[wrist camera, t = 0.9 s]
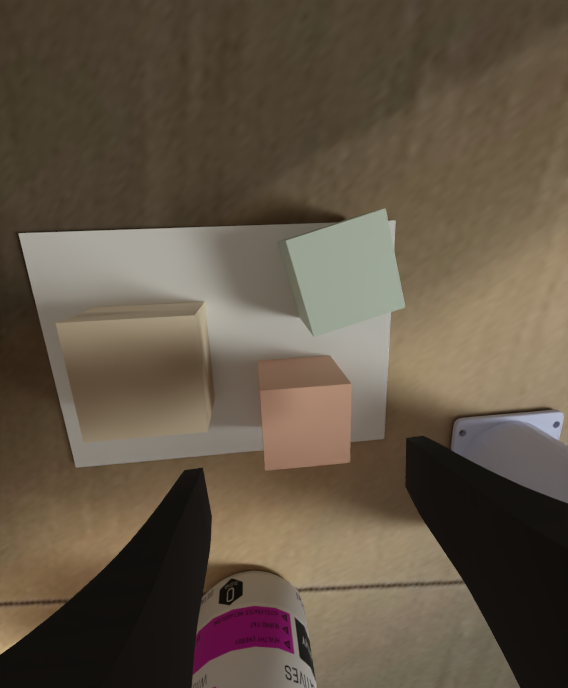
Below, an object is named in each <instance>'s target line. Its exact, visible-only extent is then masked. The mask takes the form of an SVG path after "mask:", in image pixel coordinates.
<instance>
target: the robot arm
mask: <svg viewBox="0 0 568 688" xmlns="http://www.w3.org/2000/svg"><path fill="white" fill-rule="evenodd" d="M563 419H564V415H563V413H562V412H560V411H558V410H545V411H533V412H522V413H511V414H500V415H489V416H477V417H466V418H459V419H457V420H456V421H455V422H454V426H453V434H452V443H451V450H450V449H448V448H446V447H444V446H442V445H440V444H439V443H437V442H435V441H433V440H431V439H429V438H427V437H424V436H418V437H411V438H406V488H407V490H408V492H409V494H410V496H411V499H412V501H413V503H414V504H415V506H416V508H417V510H418V512H419V514H420V515H421V517H422V519H423V520H424V522H425V523H426V525H427V526H428V528H429V529H430V531H431V532H432V534H433V535H434V537H435V538H436V540H437V541H438V543H439V544H440V546H441V547H442V549H443V550H444V552H445V553H446V555H447V556H448V558H449V559H450V561H451V562H452V564H453V565H454V567H455V568H456V570H457V571H458V573H459V574H460V576H461V578H462V579H463V581H464V582H465V584H466V586H467V587H468V589H469V591H470V592H471V594H472V596H473V598H474V600H475V602H476V603H477V605H478V607H479V609H480V611H481V612H482V614H483V616H484V618H485V620H486V622H487V623H488V625H489V627H490V629H491V631H492V633H493V635H494V637H495V639H496V641H497V643H498V645H499V646H500V648H501V650H502V652H503V654H504V656H505V658H506V660H507V662H508V664H509V666H510V668H511V670H512V672H513V674H514V676H515V678H516V680H517V682H518V684H519V686H520V688H568V446H567V445H565V444H564V443H562V442H561V441H559V437H560V432H561V428H562V423H563ZM461 430H463V431H462V432H461V433H460V434H459V432H460V431H461ZM211 523H212V515H211V510H210V504H209V499H208V494H207V488H206V483H205V477H204V472H203V468H197V469H190V470H184V472H183V473H182V474H181V475H180V477H179V478H178V480H177V481H176V482H175V484H174V485H173V487H172V488H171V490H170V491H169V492H168V494H167V495H166V496H165V498H164V499H163V501H162V502H161V503H160V505H159V506H158V507H157V509H156V510H155V511H154V512H153V514H152V515H151V516H150V518H149V519H148V520H147V521H146V523H145V524H144V525H143V526H142V527H141V529H140V530H139V531H138V532H137V533H136V535H135V536H134V537H133V538H132V539H131V541H130V542H129V543H128V544H127V545H126V546H125V547H124V548H123V550H122V551H121V552H120V553H119V554H118V555H117V556H116V557H115V558H114V559H113V560H112V561H111V562H110V563H109V564H108V565H107V566H106V567H105V568H104V569H103V570H102V571H101V572H100V573H99V574H98V575H97V576H96V577H95V578H94V579H93V580H91V581H90V582H89V583H88V584H87V585H86V586H85V587H84V588H83V589H82V590H80V591H79V592H78V593H77V594H76V595H75V596H74V597H73V598H72V599H71V600H69V601H68V602H67V603H66V604H65V605H64V606H62V607H61V608H60V609H59V610H58V611H56V612H55V613H54V614H53V615H52V616H50V617H49V618H48V619H47V620H45V621H44V622H43V623H42V624H40V625H39V626H38V627H37V628H35V629H34V630H33V631H32V632H30V633H29V634H28V635H26V636H25V637H24V638H22V639H21V640H20V641H19V642H17V643H16V644H15V645H13V646H12V647H10V648H9V649H8V650H6V651H5V652H3V653H2V654H1V655H0V688H192V677H193V665H194V652H195V640H196V633H197V625H198V618H199V612H200V606H201V600H202V594H203V588H204V582H205V576H206V570H207V564H208V558H209V552H210V542H211Z"/></svg>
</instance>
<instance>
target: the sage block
mask: <svg viewBox="0 0 568 688" xmlns="http://www.w3.org/2000/svg"><path fill="white" fill-rule="evenodd" d="M277 244H278V247H279V250H280V254H281V257H282V260H283V264H284V267H285V270H286V274H287V277H288V280H289V284H290V287H291V290H292V294H293V297H294V300H295V304H296V307H297V310H298V314H299V317H300V319H301V320H302V322H303V323H304V324H305V326H306V327H307V328H308V330H309V331H310V332H311V334H312V335H313V337H316V336H319V335H322V334H325V333H328V332H331V331H334V330H338V329H341V328H344V327H347V326H350V325H353V324H356V323H359V322H362V321H365V320H368V319H371V318H374V317H377V316H380V315H383V314H386V313H389V312H392V311H396V310H399V309H402V308H405V303H404V298H403V293H402V288H401V283H400V278H399V273H398V268H397V263H396V258H395V253H394V248H393V243H392V238H391V233H390V228H389V223H388V218H387V213H386V208H385V209H382V210H378V211H374V212H371V213H367V214H363V215H360V216H356V217H353V218H350V219H346V220H343V221H340V222H337V223H334V224H331V225H328V226H325V227H322V228H319V229H315V230H312V231H309V232H306V233H303V234H300V235H297V236H294V237H291V238H288V239H285V240H281V241H278V242H277Z"/></svg>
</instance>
